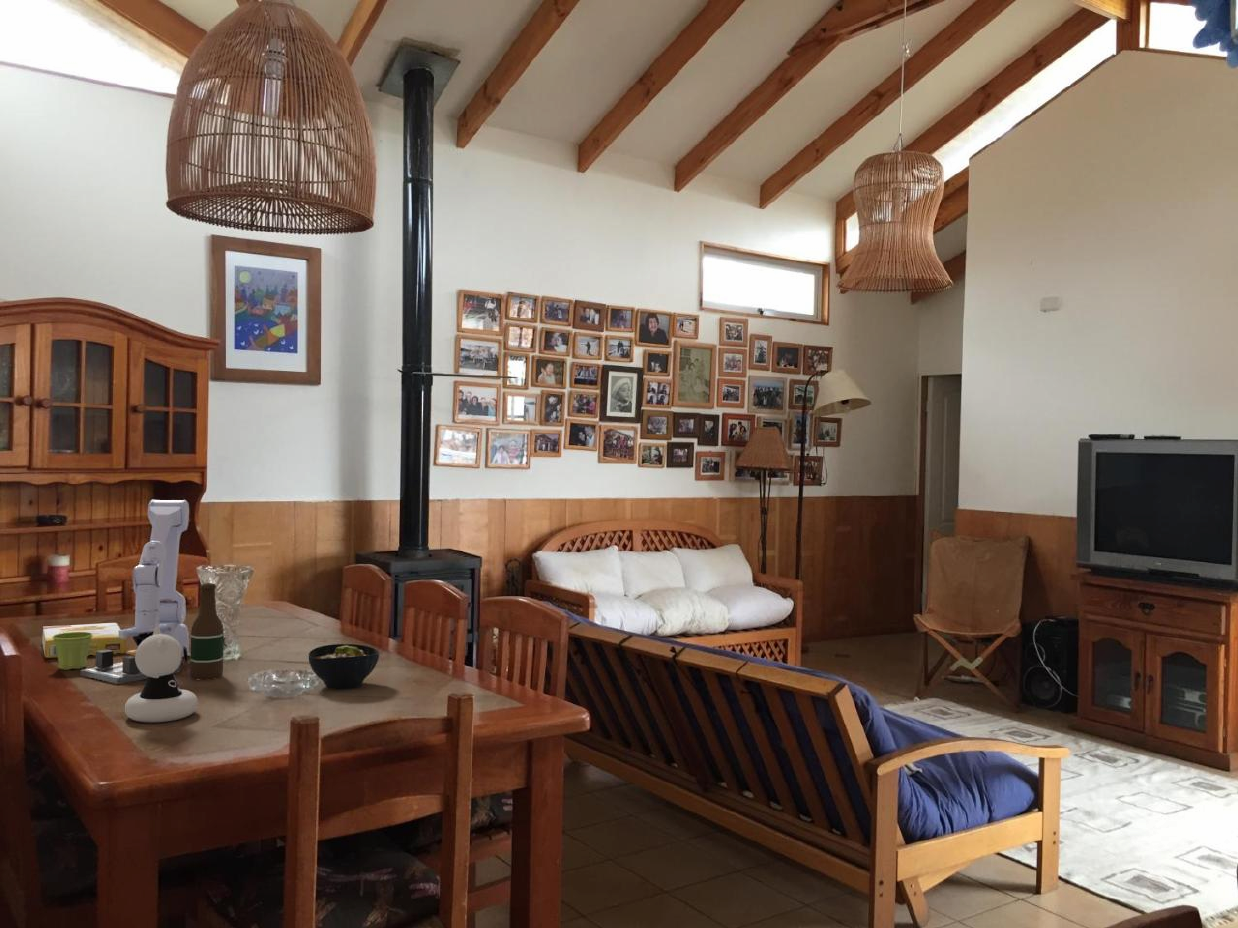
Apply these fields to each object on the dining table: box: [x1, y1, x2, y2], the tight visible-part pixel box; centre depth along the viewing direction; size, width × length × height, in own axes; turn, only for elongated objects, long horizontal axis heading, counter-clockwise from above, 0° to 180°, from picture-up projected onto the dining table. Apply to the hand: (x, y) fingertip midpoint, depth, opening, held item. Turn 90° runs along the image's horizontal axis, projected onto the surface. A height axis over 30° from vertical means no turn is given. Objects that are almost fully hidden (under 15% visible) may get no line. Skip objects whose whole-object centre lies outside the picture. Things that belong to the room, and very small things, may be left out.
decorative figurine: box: [124, 623, 199, 723], centre depth 217 cm, size 15×15×20 cm
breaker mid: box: [126, 649, 137, 656], centre depth 258 cm, size 3×3×4 cm
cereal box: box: [41, 622, 127, 659], centre depth 289 cm, size 20×6×28 cm
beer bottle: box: [189, 582, 225, 681], centre depth 255 cm, size 8×8×24 cm
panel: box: [80, 649, 180, 685], centre depth 257 cm, size 17×16×6 cm
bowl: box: [308, 643, 380, 691], centre depth 248 cm, size 17×17×10 cm
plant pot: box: [52, 632, 93, 671], centre depth 263 cm, size 9×9×9 cm
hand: (146, 661), depth 260 cm, fingers closed
